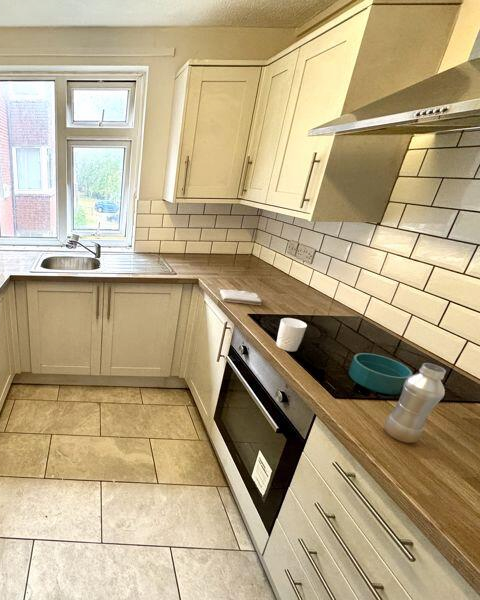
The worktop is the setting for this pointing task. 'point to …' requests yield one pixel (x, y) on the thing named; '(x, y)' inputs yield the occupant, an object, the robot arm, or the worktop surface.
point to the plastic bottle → (416, 403)
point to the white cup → (290, 334)
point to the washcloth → (240, 297)
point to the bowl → (379, 373)
